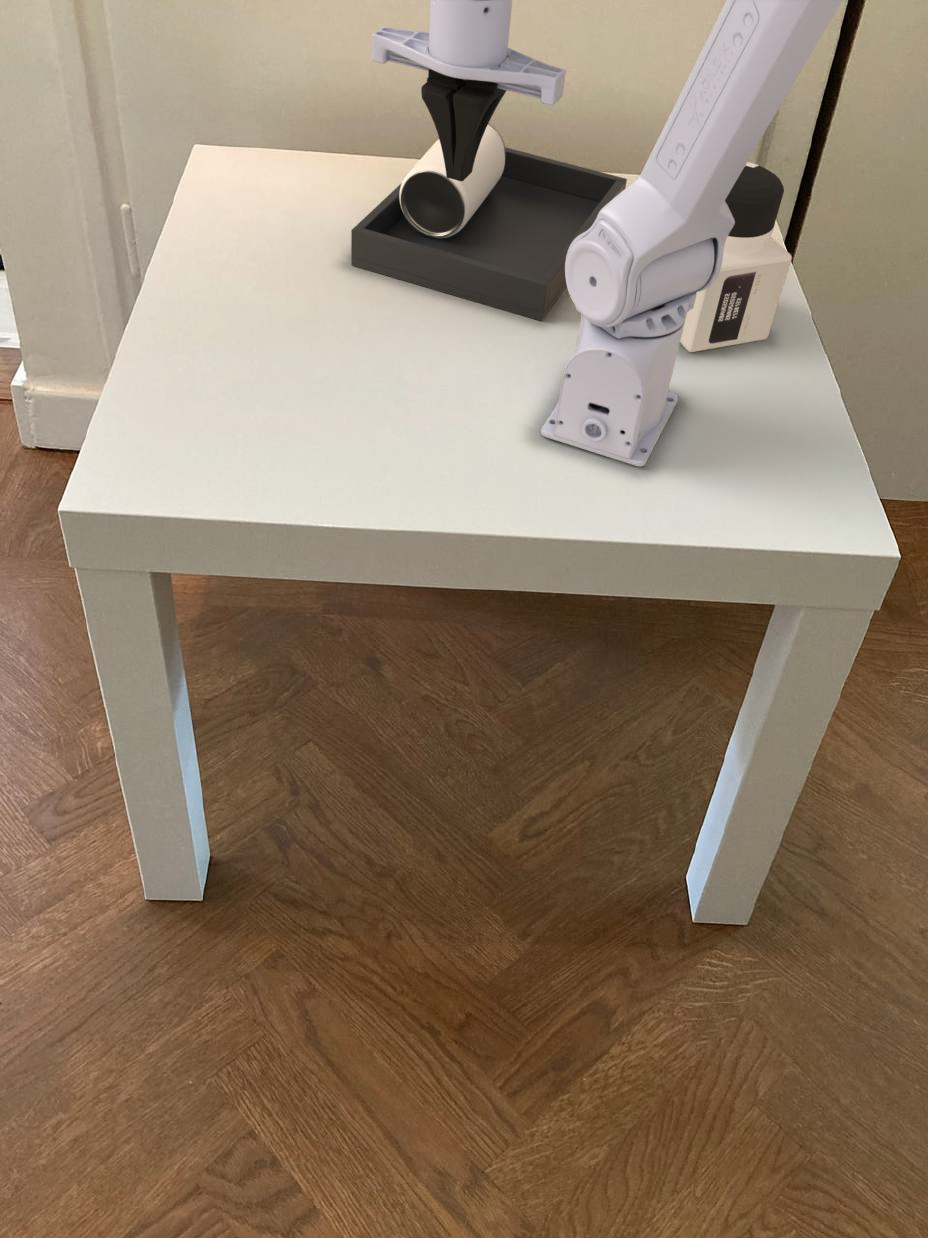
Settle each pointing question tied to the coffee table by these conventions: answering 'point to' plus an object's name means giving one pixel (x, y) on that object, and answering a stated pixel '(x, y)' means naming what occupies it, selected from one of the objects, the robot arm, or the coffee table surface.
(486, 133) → the can
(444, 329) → the coffee table surface
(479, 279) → the tray
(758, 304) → the container
